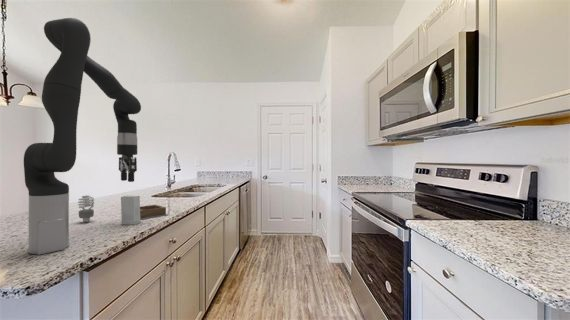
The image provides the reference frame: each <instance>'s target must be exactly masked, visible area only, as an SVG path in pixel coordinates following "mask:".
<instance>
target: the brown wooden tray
mask: <svg viewBox="0 0 570 320" xmlns="http://www.w3.org/2000/svg"><path fill="white" fill-rule="evenodd" d="M166 211H167V208H166V206H162V205H159V204H151V205H145V206H143V205H142V206H140V218H146V217H152V216H159V215H165V214H167V212H166Z"/></svg>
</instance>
